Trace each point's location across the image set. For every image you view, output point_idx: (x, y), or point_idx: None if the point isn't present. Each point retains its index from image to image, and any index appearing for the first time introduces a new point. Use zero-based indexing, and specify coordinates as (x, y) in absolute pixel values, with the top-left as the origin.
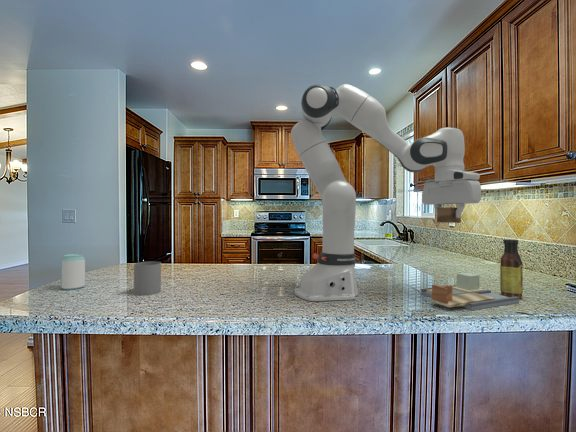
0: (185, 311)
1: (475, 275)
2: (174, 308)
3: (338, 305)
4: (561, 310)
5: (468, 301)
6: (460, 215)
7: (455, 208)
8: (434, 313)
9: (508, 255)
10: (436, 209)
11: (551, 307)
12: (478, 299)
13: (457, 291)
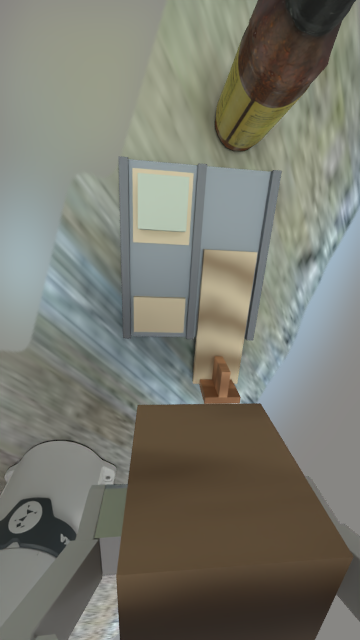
0: (95, 618)
1: (186, 197)
2: (81, 626)
3: None
4: (352, 146)
5: (242, 334)
6: (318, 496)
7: (316, 603)
8: (226, 403)
9: (308, 60)
10: (63, 631)
11: (332, 138)
12: (244, 301)
13: (159, 250)
